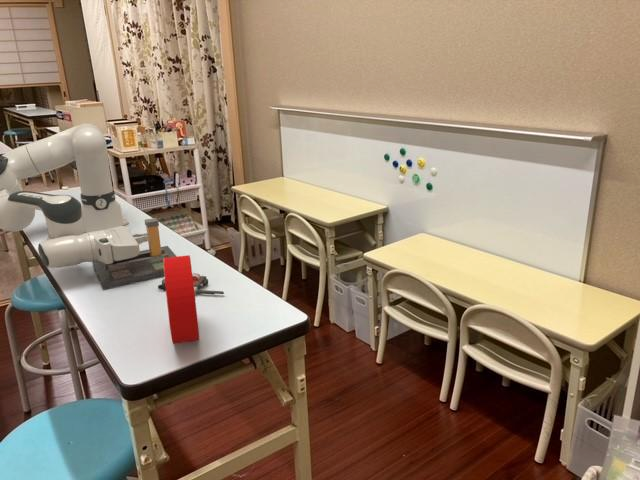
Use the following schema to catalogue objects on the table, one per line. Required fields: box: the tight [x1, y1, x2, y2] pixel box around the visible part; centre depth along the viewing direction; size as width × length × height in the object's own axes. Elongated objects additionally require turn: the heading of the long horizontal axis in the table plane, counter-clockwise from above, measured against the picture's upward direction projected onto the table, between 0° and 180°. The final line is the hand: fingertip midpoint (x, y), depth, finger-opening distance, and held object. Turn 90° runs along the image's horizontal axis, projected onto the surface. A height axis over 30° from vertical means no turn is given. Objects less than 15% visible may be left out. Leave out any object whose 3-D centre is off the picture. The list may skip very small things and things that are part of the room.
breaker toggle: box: [144, 217, 162, 257], centre depth 158 cm, size 3×3×13 cm
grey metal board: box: [91, 245, 178, 291], centre depth 158 cm, size 20×24×4 cm
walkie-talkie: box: [157, 272, 225, 297], centre depth 145 cm, size 9×4×20 cm
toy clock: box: [164, 254, 200, 345], centre depth 118 cm, size 20×6×20 cm, turn 17°
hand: (148, 236), depth 157 cm, fingers closed
